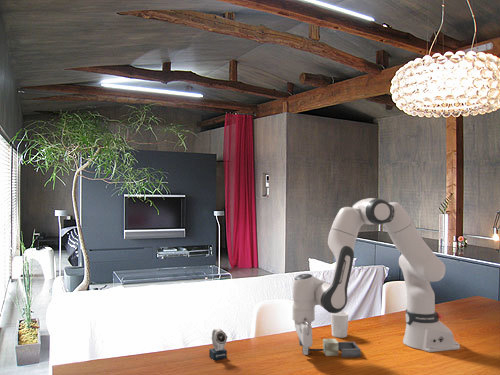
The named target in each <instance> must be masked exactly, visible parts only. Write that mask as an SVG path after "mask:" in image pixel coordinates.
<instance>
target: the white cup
mask: <svg viewBox="0 0 500 375" xmlns="http://www.w3.org/2000/svg"><path fill="white" fill-rule="evenodd" d="M330 326H331V336H332V337H334V338H339V339H340V338H346V337H348V329H349V328H348V327H349V312H347V311H344V310H342V311H340V312H338V313H330Z"/></svg>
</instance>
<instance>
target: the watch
mask: <svg viewBox="0 0 500 375" xmlns="http://www.w3.org/2000/svg"><path fill="white" fill-rule="evenodd" d="M227 340H228V336H227V334H226V333H225V332H224V330H223V329H222V328H214V329H213V330H212V332H211V342H212V343H211V344H212V346H213V347H212V348H209V349H208V350H209V354H208V356H209V358H210V359H211V360H212V359H213V360H216V361H220V359H221V360H224V359H227V358H228V350H227V349H226V348H225V347H226V344H227ZM213 360H212V361H213Z"/></svg>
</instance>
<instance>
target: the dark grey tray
mask: <svg viewBox="0 0 500 375" xmlns="http://www.w3.org/2000/svg"><path fill="white" fill-rule="evenodd" d="M337 342H338V351H340V356H341V358H361V354H362V353H361V351H362V350H361V348H360V346H358V344H357V343H356V341H337Z"/></svg>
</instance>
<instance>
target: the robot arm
mask: <svg viewBox="0 0 500 375" xmlns="http://www.w3.org/2000/svg"><path fill="white" fill-rule="evenodd" d="M363 225H367V226H371V225H377V226H378V225H382V226H384V228H385V230H386V232H387V234H388V236H389V238H390V240H391V241H392V243H393V245H394V247H395V249H397V250H398V251H399V253H400V255H399V258H398V266H399V268H400V269H401V271H402V276H403V278H404V280H403V281H404V284H405V288H406V289H405V291H406V309H405V324H406V325H405V330H404V336H403V339H402V343H403V344H404V345H406V346H408V347H410V348H413V349H417V350H422V351H426V352H429V353H433V352H434V353H435V352H444V351H453V350H460V349H461V346H460V343H459V342H458V341H456V340H455V337H454V333H453V331H452V330H451V329H450V328H449V327H448V326H447V325H445V324H444V323H443V322H441V321H440V320H444V315H443V314H441V313H439V312H436V310H435V309H436V307H435V306H436V304H435V300H436V298H435V296H436V295H435V292H434V290H433V288H432V286H431V282H432V283H433V282H435V283H436V282H439V281H441V280H442V279H443V278H444V276H445V274H446V265H445V263H444V262H443V261H442V260H441V259H440V258H439V257H437V255H436V254H435V253H434V251H432V249H431V248H430V247H429V246H428V244H427V243H426V242H425V241H424V239H423V238H422V236H421V235H420V233H419V231H418V229H417V227H416V226H415V224H414V222H413V220H412V219H411V217H410V215H409V214H408V212H407V211H406V210H405V208H404V207H403V206H402V205H401V204H400V203H399V202H398V201H391V202H387V201H386V200H385V199H382V198H378V197H377V198H374V197H369V198H368V197H367V198H361V199H358V200H356V201H355V202H354V203H353V204H352V205H351V206H343V207H341V208H340V209H339V211H338V212H337V214H336V216H335V218H334V219H333V222H332V225H331V228H330V231H329V232H328V237H327V245H328V248H329V250H330V251H331V252H332V254H333V257H334V258H335V267H334V272H333V275H332V280H331V283H330V282H328V281H324V280H322V279H319V278H317V277H316V276H314V275H313V274H311V273H302V274H298V275H296V276H295V278H294V280H293V282H292V283H293V285H292V300H293V302H292V303H293V304H292V320H293V321H294V328H295V331H296V334H297V336H298V344H299V346H300V347H301V346H302V345H303V353H302V355H303V354H304V356H307V355H308V349H309V346H310V347H312V346H313V328H312V323H313V322H314V321H315V312H316V311H315V310H316V309H315V308H316V307H315V306H320V307H322V308H323V310H325V311H327V312H328V313H330V314H331V313H338V312H340V311H344V309H345V308H346V306H347V304H348V288H349V283H350V278H351V274H352V270H353V262H354V259H355V251H354V250H355V245H356V241H357V238H358V235H359V230H360V229H361V227H363Z"/></svg>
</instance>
